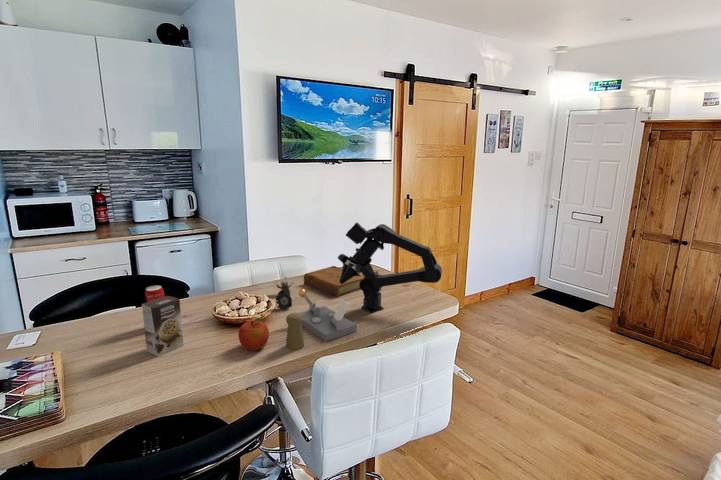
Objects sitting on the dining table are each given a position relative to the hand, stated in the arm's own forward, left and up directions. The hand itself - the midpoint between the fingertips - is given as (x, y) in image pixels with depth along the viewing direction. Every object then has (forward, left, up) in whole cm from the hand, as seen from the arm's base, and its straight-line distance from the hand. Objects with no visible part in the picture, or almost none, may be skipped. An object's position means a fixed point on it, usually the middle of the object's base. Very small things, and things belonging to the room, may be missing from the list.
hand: (340, 283), depth 155 cm
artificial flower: (+10, -27, -13) cm, 32 cm away
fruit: (+37, +5, -13) cm, 40 cm away
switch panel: (+10, +5, -13) cm, 17 cm away
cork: (+26, +12, -13) cm, 32 cm away
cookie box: (+60, -11, -13) cm, 63 cm away
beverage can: (+58, -29, -13) cm, 67 cm away
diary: (-17, -28, -13) cm, 35 cm away
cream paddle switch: (+11, +12, -10) cm, 19 cm away
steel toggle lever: (+10, -2, -9) cm, 14 cm away
